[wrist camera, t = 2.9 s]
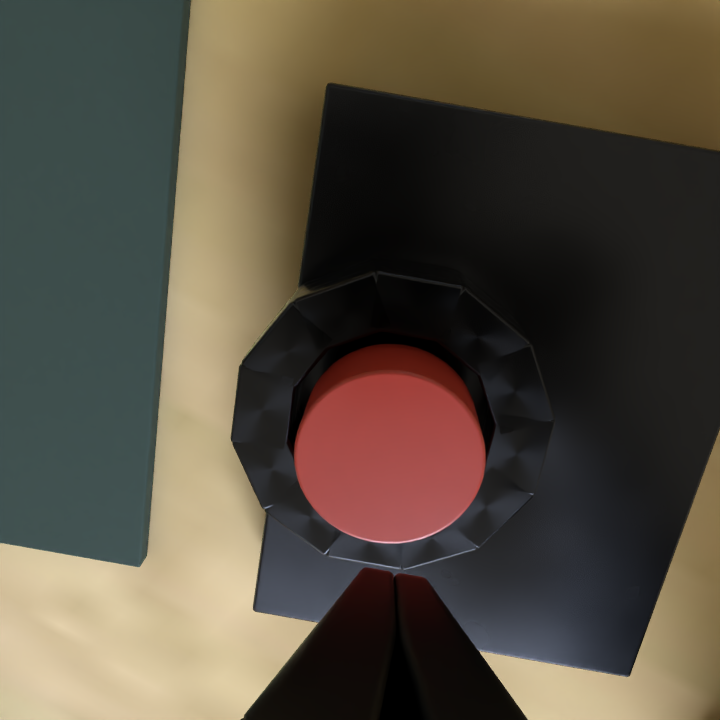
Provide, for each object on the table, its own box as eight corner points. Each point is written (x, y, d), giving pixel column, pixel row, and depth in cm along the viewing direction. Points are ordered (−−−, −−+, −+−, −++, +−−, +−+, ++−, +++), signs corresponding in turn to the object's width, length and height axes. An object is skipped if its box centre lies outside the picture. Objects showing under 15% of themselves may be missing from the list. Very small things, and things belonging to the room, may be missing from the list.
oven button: (456, 512, 15) (463, 559, 13) (294, 484, 15) (281, 527, 13) (493, 359, 14) (506, 389, 12) (318, 328, 14) (307, 354, 12)
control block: (605, 622, 20) (654, 736, 16) (242, 558, 20) (204, 657, 16) (761, 163, 16) (876, 172, 12) (303, 83, 16) (273, 66, 12)
